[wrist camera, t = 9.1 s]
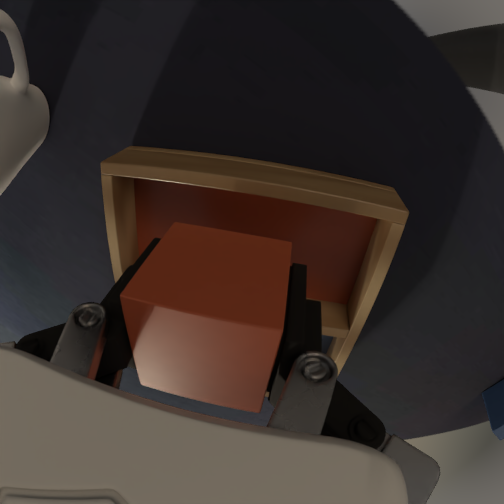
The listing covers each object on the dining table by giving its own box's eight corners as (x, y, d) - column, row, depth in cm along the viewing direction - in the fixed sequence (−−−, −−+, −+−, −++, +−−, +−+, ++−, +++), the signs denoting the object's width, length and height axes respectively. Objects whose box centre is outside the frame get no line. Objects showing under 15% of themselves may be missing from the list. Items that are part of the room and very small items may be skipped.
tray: (130, 145, 15) (99, 162, 12) (393, 187, 14) (410, 212, 11) (148, 336, 22) (133, 364, 20) (322, 372, 21) (321, 405, 19)
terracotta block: (177, 307, 14) (140, 384, 10) (174, 221, 12) (119, 295, 8) (273, 327, 14) (259, 413, 10) (292, 241, 11) (283, 330, 8)
